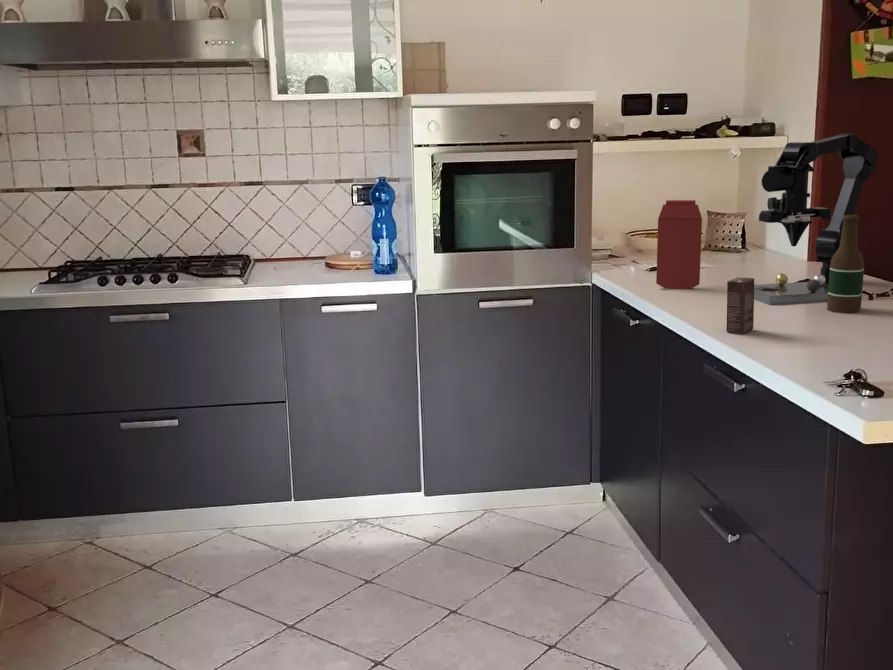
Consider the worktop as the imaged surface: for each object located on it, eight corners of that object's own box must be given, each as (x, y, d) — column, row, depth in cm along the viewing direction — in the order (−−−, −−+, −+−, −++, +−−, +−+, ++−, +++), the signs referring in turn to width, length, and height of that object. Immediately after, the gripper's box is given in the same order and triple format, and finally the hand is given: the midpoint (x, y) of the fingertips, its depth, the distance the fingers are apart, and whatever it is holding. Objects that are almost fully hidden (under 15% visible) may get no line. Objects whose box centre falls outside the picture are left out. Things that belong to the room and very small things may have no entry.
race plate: (817, 290, 253) (818, 281, 253) (850, 300, 238) (851, 291, 237) (740, 294, 250) (741, 285, 249) (769, 305, 235) (769, 295, 234)
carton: (699, 286, 264) (702, 200, 258) (699, 289, 259) (702, 201, 254) (656, 285, 267) (659, 200, 261) (656, 288, 262) (658, 201, 257)
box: (734, 327, 211) (737, 276, 209) (753, 329, 208) (756, 278, 206) (724, 332, 207) (726, 280, 204) (743, 334, 204) (746, 282, 201)
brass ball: (783, 283, 250) (784, 272, 250) (789, 285, 247) (790, 274, 246) (772, 284, 250) (773, 273, 249) (778, 286, 247) (779, 274, 246)
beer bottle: (845, 316, 220) (853, 217, 214) (819, 310, 227) (826, 215, 221) (867, 312, 223) (875, 215, 218) (841, 307, 230) (848, 213, 225)
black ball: (815, 290, 240) (816, 278, 239) (821, 292, 237) (822, 280, 236) (804, 290, 240) (804, 278, 239) (810, 293, 237) (811, 280, 236)
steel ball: (808, 281, 247) (816, 289, 247) (815, 276, 244) (823, 285, 244) (814, 274, 248) (822, 283, 248) (821, 270, 245) (830, 278, 245)
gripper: (811, 185, 255) (808, 240, 259) (749, 189, 252) (747, 244, 256) (834, 188, 245) (830, 245, 248) (770, 192, 242) (768, 250, 245)
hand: (793, 246), depth 250 cm, fingers closed
